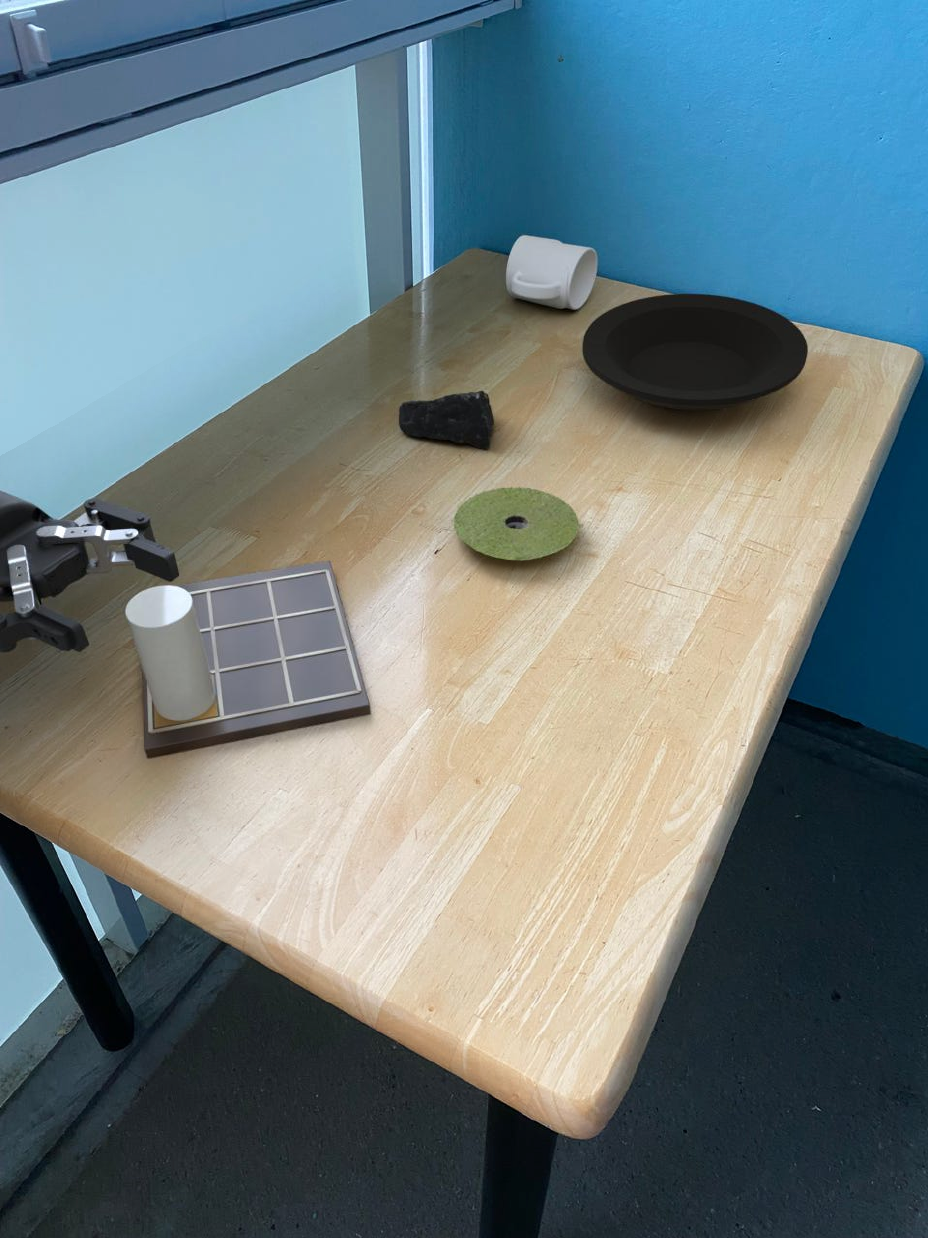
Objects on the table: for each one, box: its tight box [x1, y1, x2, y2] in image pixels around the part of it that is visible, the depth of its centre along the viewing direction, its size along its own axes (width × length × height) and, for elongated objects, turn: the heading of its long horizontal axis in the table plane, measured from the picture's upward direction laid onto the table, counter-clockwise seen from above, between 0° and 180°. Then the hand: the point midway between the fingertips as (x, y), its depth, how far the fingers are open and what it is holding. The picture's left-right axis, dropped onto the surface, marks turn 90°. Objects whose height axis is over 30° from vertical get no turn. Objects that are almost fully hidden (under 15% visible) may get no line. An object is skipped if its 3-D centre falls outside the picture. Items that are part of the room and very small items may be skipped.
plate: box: [581, 293, 809, 411], centre depth 105 cm, size 28×24×6 cm
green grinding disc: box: [453, 486, 580, 561], centre depth 84 cm, size 11×11×2 cm
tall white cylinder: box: [124, 584, 216, 721], centre depth 65 cm, size 4×4×9 cm
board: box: [140, 560, 372, 759], centre depth 73 cm, size 16×18×1 cm
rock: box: [398, 390, 495, 451], centre depth 98 cm, size 7×10×6 cm
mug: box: [505, 234, 599, 311], centre depth 122 cm, size 12×9×8 cm
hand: (130, 602), depth 64 cm, fingers open, 8 cm apart
